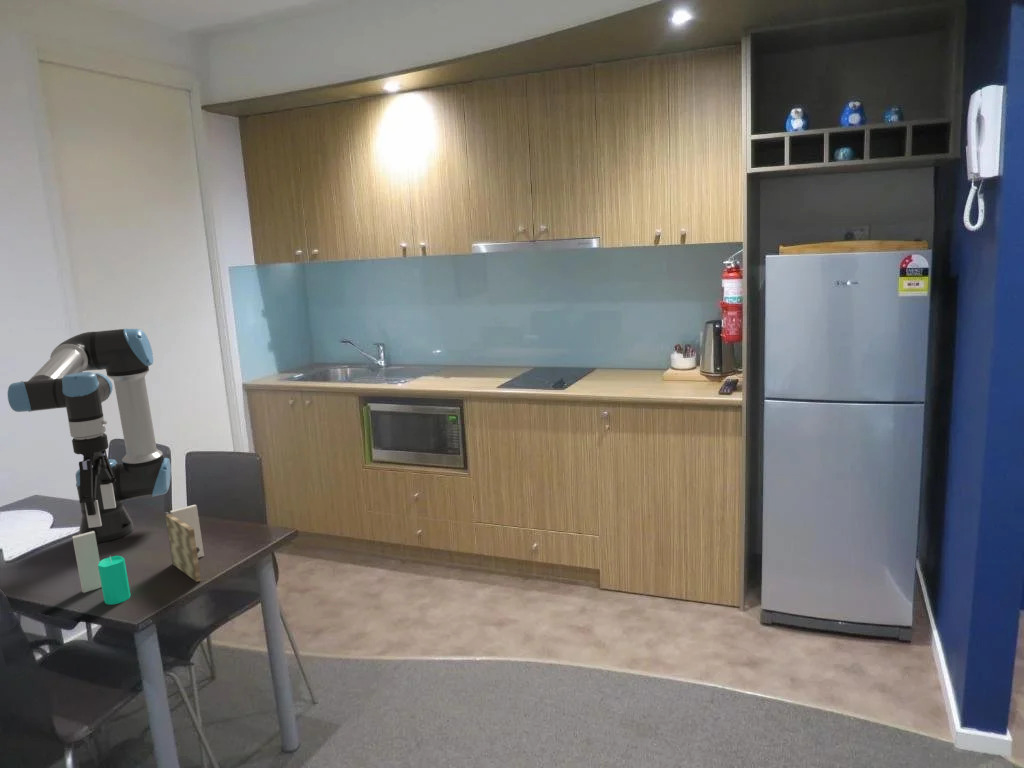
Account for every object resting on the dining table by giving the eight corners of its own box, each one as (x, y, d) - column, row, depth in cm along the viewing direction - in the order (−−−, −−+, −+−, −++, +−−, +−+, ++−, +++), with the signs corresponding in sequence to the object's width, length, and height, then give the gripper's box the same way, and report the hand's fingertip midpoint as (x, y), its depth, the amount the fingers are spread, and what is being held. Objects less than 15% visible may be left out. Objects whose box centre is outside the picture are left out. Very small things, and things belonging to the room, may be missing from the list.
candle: (112, 593, 190) (104, 551, 188) (135, 592, 190) (127, 549, 188) (99, 605, 184) (91, 561, 182) (123, 603, 184) (115, 559, 182)
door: (173, 564, 205) (165, 515, 202) (183, 561, 207) (175, 512, 204) (196, 582, 193) (188, 529, 191) (207, 578, 195) (199, 526, 192)
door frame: (82, 590, 193) (72, 536, 190) (202, 554, 212) (195, 504, 209) (83, 592, 191) (73, 538, 188) (204, 555, 211) (196, 505, 208)
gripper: (91, 446, 168) (106, 532, 172) (118, 422, 192) (131, 499, 196) (54, 450, 166) (70, 537, 170) (87, 425, 190) (100, 503, 194)
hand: (103, 517), depth 183 cm, fingers open, 13 cm apart
